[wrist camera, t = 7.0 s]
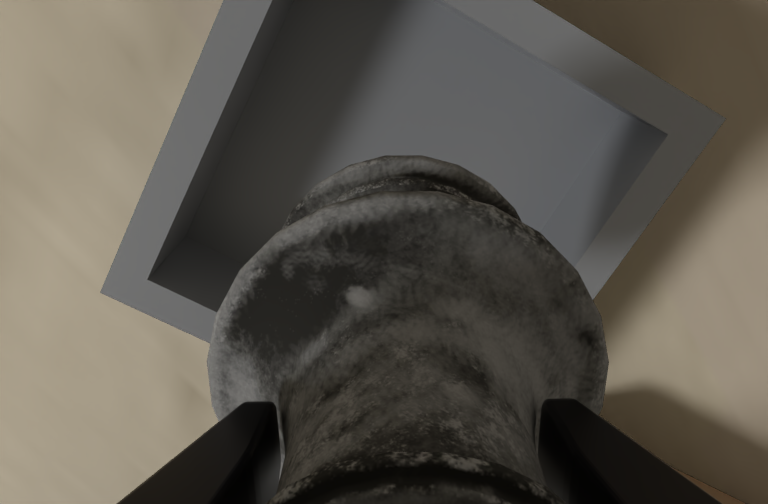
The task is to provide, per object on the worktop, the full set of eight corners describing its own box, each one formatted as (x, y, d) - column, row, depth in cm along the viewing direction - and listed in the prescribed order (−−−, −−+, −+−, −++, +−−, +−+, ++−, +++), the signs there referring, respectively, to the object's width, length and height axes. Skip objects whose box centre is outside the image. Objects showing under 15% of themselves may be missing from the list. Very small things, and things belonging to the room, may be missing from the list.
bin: (459, 390, 24) (472, 464, 20) (150, 242, 22) (100, 292, 18) (662, 96, 20) (726, 118, 16) (308, -118, 18) (286, -150, 14)
